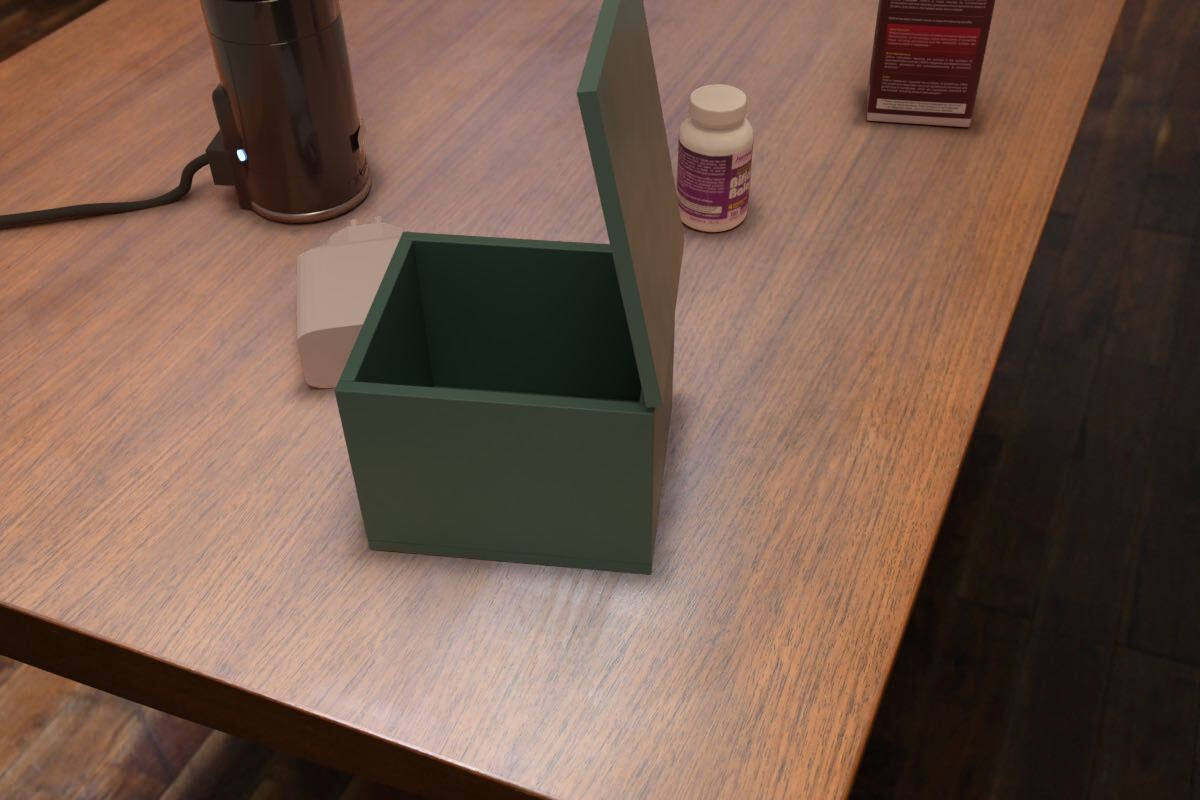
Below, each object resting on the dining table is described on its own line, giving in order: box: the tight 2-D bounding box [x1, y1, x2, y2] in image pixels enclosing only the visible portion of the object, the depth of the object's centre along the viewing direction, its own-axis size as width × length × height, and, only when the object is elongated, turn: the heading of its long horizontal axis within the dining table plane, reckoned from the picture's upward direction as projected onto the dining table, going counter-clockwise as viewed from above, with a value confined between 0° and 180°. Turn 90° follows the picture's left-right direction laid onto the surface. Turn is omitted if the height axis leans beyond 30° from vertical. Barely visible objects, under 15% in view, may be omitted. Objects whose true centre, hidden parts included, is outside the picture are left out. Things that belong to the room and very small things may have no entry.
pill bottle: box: [676, 83, 755, 233], centre depth 87 cm, size 5×5×10 cm
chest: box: [333, 231, 676, 575], centre depth 67 cm, size 16×14×12 cm
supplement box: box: [866, 0, 996, 128], centre depth 96 cm, size 9×5×16 cm, turn 80°
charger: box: [296, 215, 408, 389], centre depth 81 cm, size 5×9×15 cm
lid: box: [576, 0, 685, 408], centre depth 56 cm, size 16×14×1 cm
